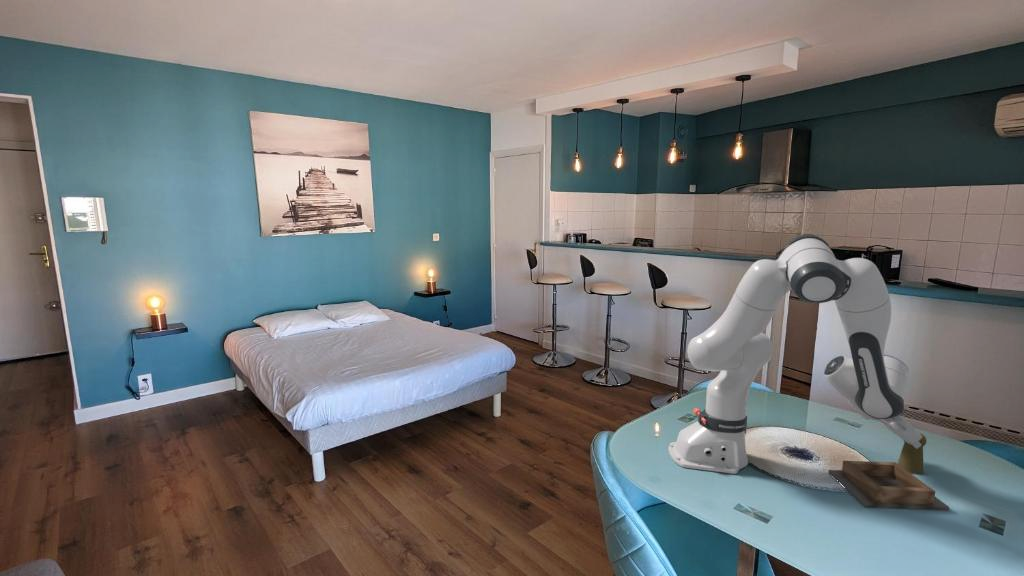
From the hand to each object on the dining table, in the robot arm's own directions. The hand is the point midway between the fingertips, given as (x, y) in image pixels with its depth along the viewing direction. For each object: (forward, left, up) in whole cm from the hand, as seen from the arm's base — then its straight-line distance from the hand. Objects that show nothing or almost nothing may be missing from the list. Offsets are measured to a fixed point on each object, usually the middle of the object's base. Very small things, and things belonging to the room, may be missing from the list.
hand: (906, 438), depth 137 cm
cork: (+3, +1, -10) cm, 11 cm away
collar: (-12, -11, -10) cm, 19 cm away
